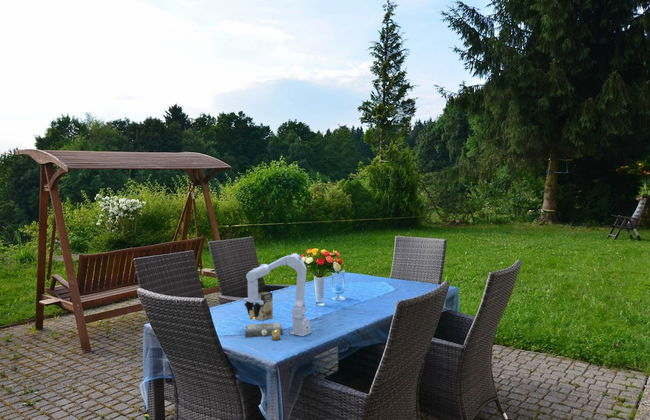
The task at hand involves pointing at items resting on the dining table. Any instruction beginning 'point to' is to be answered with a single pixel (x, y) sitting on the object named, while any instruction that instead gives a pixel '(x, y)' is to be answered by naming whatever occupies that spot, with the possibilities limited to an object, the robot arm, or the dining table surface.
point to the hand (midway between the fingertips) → (253, 315)
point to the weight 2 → (276, 334)
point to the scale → (262, 329)
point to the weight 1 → (252, 314)
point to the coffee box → (265, 306)
